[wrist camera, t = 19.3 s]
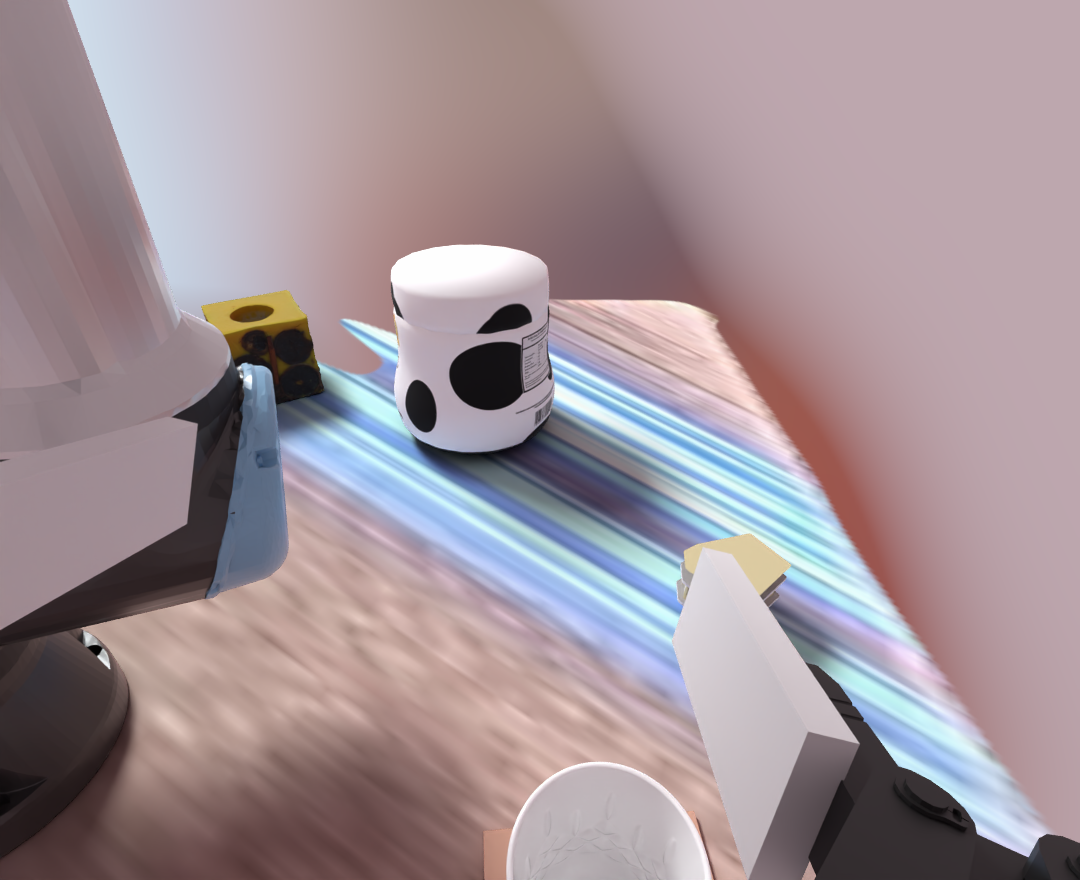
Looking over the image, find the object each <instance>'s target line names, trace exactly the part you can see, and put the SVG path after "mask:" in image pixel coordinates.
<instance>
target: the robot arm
mask: <svg viewBox="0 0 1080 880" xmlns="http://www.w3.org/2000/svg"><path fill="white" fill-rule="evenodd" d="M288 548H289V547H288V528H287V516H286V504H285V493H284V482H283V472H282V461H281V452H280V443H279V431H278V421H277V412H276V402H275V393H274V386H273V378H272V373H271V371H270V370H269V369H268V368H266V367H264V366H254V365H252V364H247V363H243V364H241V365H240V366H238V367H235V364H234V361H233V358H232V355H231V352H230V348H229V345H228V343H227V341H226V339H225V337H224V335H223V334H222V332H221V331H220V330H219V329H217V328H216V327H215V326H214V325H212V324H210V323H209V322H207V321H205V320H203V319H201V318H198V317H196V316H194V315H192V314H189V313H187V312H185V311H183V310H180V309H179V308H178V307H177V305H176V302H175V299H174V296H173V293H172V291H171V288H170V285H169V282H168V279H167V277H166V274H165V271H164V268H163V266H162V263H161V260H160V257H159V255H158V252H157V249H156V246H155V244H154V241H153V238H152V235H151V232H150V229H149V227H148V224H147V221H146V218H145V216H144V213H143V210H142V207H141V204H140V202H139V199H138V196H137V193H136V191H135V188H134V185H133V183H132V180H131V177H130V174H129V171H128V168H127V166H126V163H125V160H124V157H123V154H122V152H121V149H120V146H119V143H118V140H117V138H116V135H115V132H114V129H113V127H112V124H111V121H110V119H109V115H108V113H107V110H106V107H105V104H104V102H103V99H102V96H101V93H100V90H99V88H98V85H97V82H96V79H95V77H94V74H93V71H92V68H91V66H90V63H89V60H88V57H87V55H86V52H85V49H84V46H83V43H82V41H81V38H80V35H79V32H78V30H77V27H76V24H75V21H74V18H73V15H72V13H71V10H70V7H69V4H68V2H67V0H0V857H2V856H4V855H5V854H7V853H8V852H10V851H11V850H13V849H14V848H16V847H17V846H19V845H20V844H21V843H23V842H24V841H26V840H27V839H28V838H30V837H31V836H32V835H34V834H35V833H36V832H37V831H39V830H40V829H41V828H42V827H44V826H45V825H46V824H47V823H48V822H49V821H51V820H52V819H53V818H54V817H55V816H56V815H57V814H58V813H59V812H61V811H62V810H63V809H64V808H65V807H66V806H67V805H68V804H69V803H70V802H71V801H72V800H73V799H74V798H75V797H76V796H77V794H78V793H79V792H80V791H81V790H82V789H83V788H84V787H85V785H86V784H87V783H88V782H89V781H90V780H91V778H92V777H93V776H94V774H95V773H96V772H97V770H98V769H99V768H100V766H101V765H102V763H103V762H104V760H105V759H106V757H107V756H108V754H109V752H110V751H111V749H112V747H113V745H114V743H115V742H116V740H117V737H118V735H119V733H120V731H121V728H122V725H123V723H124V719H125V716H126V712H127V706H128V685H127V680H126V677H125V675H124V673H123V671H122V669H121V667H120V666H119V664H118V663H117V661H116V659H115V658H114V656H113V655H112V653H111V652H110V650H109V649H108V648H107V647H106V646H105V645H104V644H103V643H102V642H101V641H100V640H99V639H98V638H96V637H95V636H93V635H91V634H90V633H88V632H86V631H84V630H82V629H80V628H82V627H86V626H90V625H94V624H99V623H103V622H107V621H111V620H116V619H120V618H124V617H128V616H133V615H137V614H141V613H145V612H150V611H154V610H158V609H162V608H167V607H171V606H175V605H179V604H184V603H188V602H192V601H196V600H201V599H210V598H214V597H215V596H217V595H218V593H220V592H223V591H227V590H230V589H233V588H236V587H240V586H243V585H246V584H249V583H252V582H256V581H259V580H262V579H265V578H267V577H268V576H270V575H272V574H273V573H274V572H275V571H276V570H278V569H279V568H280V567H281V565H282V564H283V562H284V560H285V559H286V556H287V553H288ZM672 644H673V647H674V650H675V653H676V656H677V659H678V662H679V666H680V669H681V672H682V675H683V678H684V681H685V685H686V688H687V691H688V694H689V697H690V700H691V704H692V707H693V710H694V713H695V716H696V719H697V722H698V726H699V729H700V732H701V735H702V738H703V741H704V745H705V748H706V751H707V754H708V757H709V760H710V764H711V767H712V770H713V773H714V776H715V779H716V782H717V786H718V789H719V792H720V795H721V798H722V801H723V805H724V808H725V811H726V814H727V817H728V820H729V824H730V827H731V830H732V833H733V836H734V839H735V842H736V846H737V849H738V852H739V855H740V858H741V861H742V865H743V868H744V871H745V874H746V877H747V880H802V877H803V875H804V873H805V870H806V868H807V866H808V863H809V861H810V862H811V865H812V867H813V869H814V872H815V874H816V878H815V880H1080V843H1078V842H1075V841H1073V840H1070V839H1068V838H1065V837H1063V836H1056V835H1049V834H1046V835H1044V836H1043V837H1041V838H1039V839H1038V841H1037V843H1036V845H1035V847H1034V848H1033V850H1032V852H1031V854H1030V856H1029V858H1028V857H1026V856H1024V855H1021V854H1019V853H1017V852H1015V851H1013V850H1010V849H1008V848H1006V847H1004V846H1002V845H999V844H997V843H995V842H993V841H991V840H988V839H986V838H984V837H982V836H980V835H978V834H977V832H976V827H975V823H974V822H973V820H972V819H971V817H970V816H969V814H968V813H967V811H966V810H965V808H964V807H962V806H961V805H960V804H959V803H958V802H957V801H956V800H955V799H954V798H953V797H952V796H951V795H950V794H949V793H948V792H946V791H945V790H943V789H942V788H940V787H939V786H938V785H936V784H935V783H933V782H932V781H931V780H929V779H927V778H925V777H923V776H921V775H919V774H917V773H915V772H913V771H911V770H908V769H905V768H902V767H899V766H898V765H897V764H896V763H895V761H894V760H893V758H892V757H891V756H890V754H889V753H888V751H887V750H886V749H885V747H884V746H883V745H882V743H881V742H880V740H879V739H878V738H877V736H876V735H875V734H874V732H873V731H872V729H871V728H870V727H869V725H868V724H867V723H866V722H863V720H864V718H863V717H862V716H861V714H860V713H859V711H858V710H857V709H856V707H854V706H852V702H851V700H850V699H849V698H848V696H847V695H846V694H845V692H844V691H843V689H842V688H841V687H840V685H839V684H838V683H837V682H836V681H834V680H833V679H832V678H831V677H830V676H829V675H827V674H826V673H825V672H824V671H823V670H822V669H820V668H819V667H818V666H816V665H812V664H808V663H805V662H804V660H803V659H802V657H801V656H800V654H799V653H798V652H797V650H796V649H795V647H794V646H793V644H792V643H791V641H790V640H789V638H788V637H787V635H786V634H785V632H784V631H783V629H782V628H781V626H780V625H779V623H778V622H777V620H776V619H775V617H774V616H773V614H772V613H771V611H770V610H769V608H768V607H767V605H766V604H765V603H764V601H763V600H762V598H761V597H760V595H759V594H758V592H757V591H756V589H755V588H754V586H753V585H752V583H751V582H750V580H749V579H748V577H747V576H746V574H745V573H744V571H743V570H742V568H741V567H740V565H739V564H738V562H737V561H736V559H735V558H734V556H733V555H732V554H729V553H725V552H721V551H717V550H713V549H709V548H705V547H703V548H702V551H701V554H700V557H699V560H698V563H697V566H696V569H695V572H694V575H693V578H692V581H691V584H690V587H689V591H688V594H687V597H686V600H685V603H684V606H683V609H682V612H681V615H680V618H679V621H678V624H677V627H676V630H675V633H674V636H673V639H672Z"/></svg>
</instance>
